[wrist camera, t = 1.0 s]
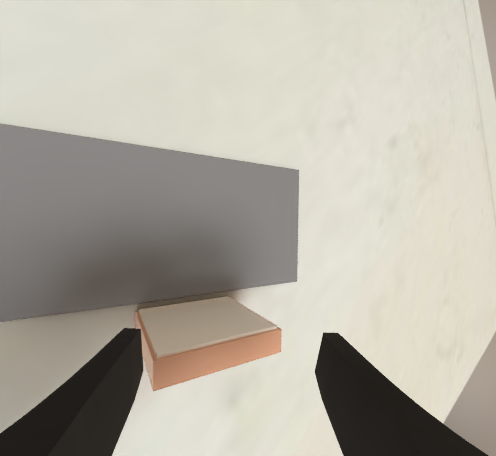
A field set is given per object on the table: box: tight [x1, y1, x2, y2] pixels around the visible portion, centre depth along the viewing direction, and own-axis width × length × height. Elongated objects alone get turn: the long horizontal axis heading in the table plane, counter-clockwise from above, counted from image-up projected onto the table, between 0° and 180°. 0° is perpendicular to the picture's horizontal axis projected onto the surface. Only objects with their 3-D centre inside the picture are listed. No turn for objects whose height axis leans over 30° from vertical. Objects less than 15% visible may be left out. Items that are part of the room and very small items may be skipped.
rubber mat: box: [0, 124, 299, 322], centre depth 21 cm, size 12×24×1 cm, turn 90°
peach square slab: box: [135, 296, 281, 391], centre depth 18 cm, size 2×8×8 cm, turn 90°
